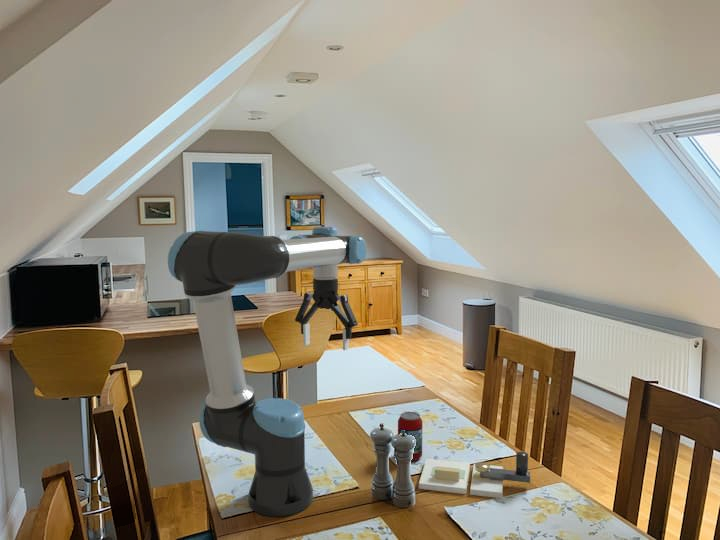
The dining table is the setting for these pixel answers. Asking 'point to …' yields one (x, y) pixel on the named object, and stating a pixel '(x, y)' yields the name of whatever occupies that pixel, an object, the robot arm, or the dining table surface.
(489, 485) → the block
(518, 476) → the latch bar
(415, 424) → the beverage can
